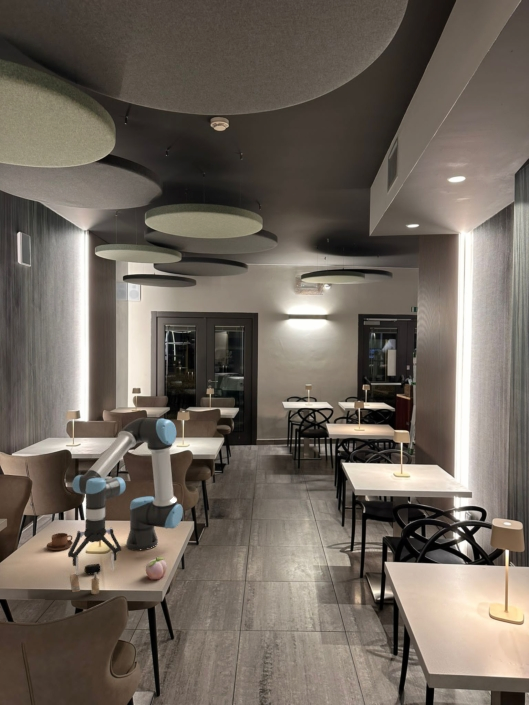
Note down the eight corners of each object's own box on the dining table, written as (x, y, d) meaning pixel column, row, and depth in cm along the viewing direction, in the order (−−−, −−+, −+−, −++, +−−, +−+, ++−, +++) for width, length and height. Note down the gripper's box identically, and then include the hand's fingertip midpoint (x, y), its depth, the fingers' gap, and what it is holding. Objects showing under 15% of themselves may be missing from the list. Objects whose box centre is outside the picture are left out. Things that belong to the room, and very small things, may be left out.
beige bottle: (98, 593, 220) (98, 570, 220) (99, 596, 217) (99, 573, 217) (91, 594, 219) (91, 572, 219) (91, 597, 216) (91, 574, 216)
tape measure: (101, 573, 235) (100, 564, 236) (84, 576, 233) (83, 567, 234) (101, 571, 242) (100, 562, 242) (84, 574, 240) (84, 565, 240)
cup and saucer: (62, 541, 278) (62, 529, 278) (77, 546, 271) (77, 534, 271) (41, 549, 268) (41, 536, 268) (56, 554, 261) (56, 541, 261)
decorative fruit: (153, 574, 238) (153, 552, 238) (169, 578, 234) (169, 554, 234) (141, 583, 229) (141, 559, 229) (157, 586, 226) (157, 562, 226)
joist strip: (77, 575, 236) (77, 573, 236) (80, 593, 219) (80, 590, 219) (70, 576, 235) (70, 574, 235) (72, 594, 218) (72, 591, 218)
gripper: (126, 512, 226) (125, 563, 225) (61, 518, 216) (61, 572, 216) (128, 517, 219) (127, 570, 219) (62, 523, 209) (61, 579, 209)
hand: (94, 571), depth 217 cm, fingers open, 13 cm apart
